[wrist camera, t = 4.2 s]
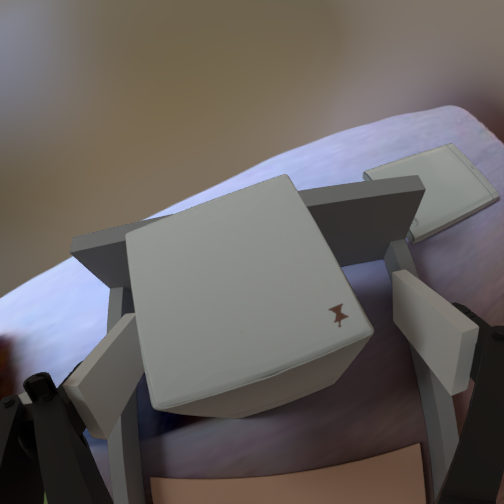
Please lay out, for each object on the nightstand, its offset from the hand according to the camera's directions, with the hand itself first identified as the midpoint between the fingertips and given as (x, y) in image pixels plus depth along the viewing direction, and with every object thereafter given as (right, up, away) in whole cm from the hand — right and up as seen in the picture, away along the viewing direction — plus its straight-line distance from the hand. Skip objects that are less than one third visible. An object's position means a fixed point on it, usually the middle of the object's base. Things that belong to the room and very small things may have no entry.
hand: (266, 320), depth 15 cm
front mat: (+2, -15, -1) cm, 15 cm away
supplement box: (0, -4, +6) cm, 7 cm away
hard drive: (+17, +9, +12) cm, 22 cm away
